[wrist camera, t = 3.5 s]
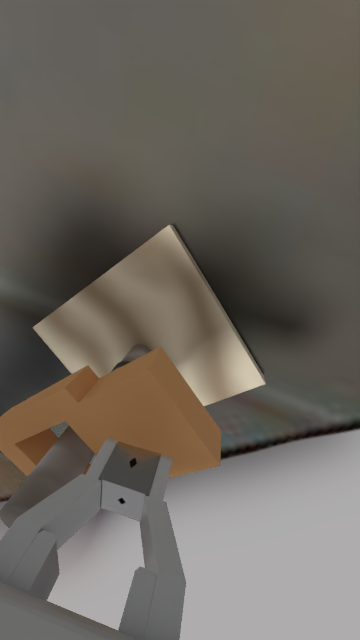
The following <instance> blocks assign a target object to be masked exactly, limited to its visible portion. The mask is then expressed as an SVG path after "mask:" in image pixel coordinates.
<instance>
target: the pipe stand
mask: <svg viewBox="0 0 360 640" xmlns="http://www.w3.org/2000/svg"><path fill="white" fill-rule="evenodd" d="M32 328H33V329H34V330H35V331H36V332H37V334H38V335H39V336H40V337H41V338H42V340H43V341H44V342H45V343H46V344H47V345H48V347H49V348H50V349H51V350H52V351H53V353H54V354H55V355H56V356H57V357H58V358H59V360H60V361H61V362H62V363H63V364H64V365H65V367H66V368H67V369H68V370H69V371H70V373H71V374H73V373H75V372H76V371H78V370H80V369H82V368H83V367H85V366H87V365H89V366H90V368H91V369H92V370H93V371H94V372H95V374H96V375H97V376H98V377H99V378H101V377H103V376H105V375H106V374H108V373H110V372H112V371H114V370H116V369H118V368H120V367H122V366H124V365H126V364H128V363H130V362H132V361H134V360H136V359H137V358H139V357H141V356H143V355H145V354H147V353H149V352H151V351H153V350H155V349H157V348H159V347H162V348H163V350H164V351H165V352H166V354H167V355H168V357H169V358H170V359H171V361H172V362H173V364H174V365H175V367H176V368H177V369H178V371H179V372H180V374H181V375H182V376H183V378H184V379H185V381H186V382H187V383H188V385H189V386H190V388H191V389H192V391H193V392H194V393H195V395H196V396H197V398H198V399H199V400H200V402H201V403H202V405H203V406H206V405H209V404H211V403H214V402H217V401H220V400H222V399H225V398H228V397H231V396H234V395H236V394H239V393H242V392H245V391H247V390H250V389H253V388H256V387H258V386H261V385H264V384H266V383H265V379H264V375H263V374H262V372H261V370H260V369H259V367H258V365H257V364H256V362H255V360H254V359H253V357H252V355H251V354H250V352H249V350H248V349H247V347H246V345H245V344H244V342H243V340H242V339H241V337H240V335H239V334H238V332H237V330H236V329H235V327H234V325H233V324H232V322H231V320H230V319H229V317H228V315H227V314H226V312H225V310H224V309H223V307H222V306H221V304H220V302H219V301H218V299H217V297H216V296H215V294H214V292H213V291H212V289H211V287H210V286H209V284H208V282H207V281H206V279H205V277H204V276H203V274H202V272H201V271H200V269H199V267H198V266H197V264H196V262H195V261H194V259H193V257H192V256H191V254H190V252H189V251H188V249H187V247H186V246H185V244H184V243H183V241H182V239H181V238H180V236H179V234H178V233H177V231H176V229H175V228H174V226H173V225H168V226H167V227H165V228H164V229H163V230H161V231H160V232H159V233H157V234H156V235H155V236H153V237H152V238H151V239H149V240H148V241H147V242H146V243H144V244H143V245H142V246H140V247H139V248H138V249H136V250H135V251H134V252H132V253H131V254H130V255H128V256H127V257H126V258H124V259H123V260H122V261H120V262H119V263H118V264H116V265H115V266H114V267H112V268H111V269H110V270H108V271H107V272H106V273H104V274H103V275H102V276H100V277H99V278H98V279H96V280H95V281H94V282H92V283H91V284H90V285H88V286H87V287H86V288H84V289H83V290H82V291H80V292H79V293H78V294H76V295H75V296H74V297H72V298H71V299H70V300H68V301H67V302H66V303H64V304H63V305H62V306H60V307H59V308H58V309H56V310H55V311H54V312H52V313H51V314H50V315H48V316H47V317H46V318H44V319H43V320H42V321H40V322H39V323H38V324H36V325H35V326H34V327H32ZM94 454H95V453H94V452H93V451H92V450H91V449H90V448H89V447H88V446H87V445H86V444H85V442H84V441H83V440H82V439H81V438H80V437H79V436H78V435H77V434H76V433H75V432H74V430H73V429H72V428H71V427H70V426H68V427H67V429H66V430H65V431H64V432H63V434H62V435H61V436H60V437H59V439H58V440H57V441H56V442H55V443H54V445H53V446H52V447H51V448H50V450H49V451H48V452H47V453H46V455H45V456H44V457H43V458H42V460H41V461H40V462H39V463H38V464H37V466H36V467H35V468H34V469H33V471H32V472H31V473H30V474H29V476H28V477H27V478H26V479H25V481H24V482H23V483H22V484H21V485H20V487H19V488H18V489H17V490H16V492H15V493H14V494H13V495H12V497H11V498H10V499H9V500H8V502H7V503H6V504H5V505H4V507H3V508H2V509H1V510H0V517H1V520H2V521H3V522H4V524H5V525H6V526H7V527H8V528H10V527H11V525H12V524H13V523H14V521H15V520H16V518H17V517H19V516H20V515H22V514H23V513H25V512H26V511H28V510H29V509H31V508H32V507H34V506H35V505H37V504H38V503H40V502H41V501H42V500H44V499H45V498H47V497H48V496H50V495H51V494H53V493H54V492H56V491H57V490H59V489H60V488H62V487H63V486H65V485H66V484H67V483H69V482H70V481H72V480H73V479H75V478H76V477H78V476H79V475H81V474H83V473H84V471H85V469H86V468H87V466H88V464H89V463H90V461H91V459H92V457H93V456H94Z"/></svg>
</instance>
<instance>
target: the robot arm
mask: <svg viewBox="0 0 360 640" xmlns="http://www.w3.org/2000/svg"><path fill="white" fill-rule="evenodd" d="M172 459H173V458H172V457H168V456H165V455H161V454H160V453H156V452H153V451H149V450H146V449H143V448H138V447H135V446H132V445H129V444H126V443H123V442H120V441H117V440H114V439H111V438H107V439H106V440H105V442H104V443H103V445H102V447H101V448H100V450H99V452H98V454H97V455H96V457H95V459H94V460H93V462H92V464H91V466H90V467H89V469H88V471H87V472H86V474H81V475H79V476H78V477H76V478H75V479H73V480H72V481H70V482H69V483H67V484H66V485H65V486H63V487H62V488H60V489H59V490H57V491H56V492H54V493H53V494H51V495H50V496H48V497H47V498H45V499H44V500H42V501H41V502H40V503H38V504H37V505H35V506H34V507H32V508H31V509H29V510H28V511H26V512H25V513H23V514H22V515H20V516H19V517H17V518H16V520H15V521H14V523H13V524H12V525H11V527H10V528H9V529H8V531H7V532H6V533H5V535H4V536H3V537H2V539H1V540H0V640H179V638H180V629H181V621H182V612H183V603H184V595H185V587H186V581H185V577H184V573H183V568H182V564H181V560H180V557H179V552H178V548H177V544H176V540H175V536H174V532H173V528H172V524H171V520H170V516H169V512H168V508H167V504H166V502H164V501H163V497H164V494H165V489H166V485H167V481H168V477H169V473H170V468H171V464H172ZM100 508H102V509H106V510H109V511H112V512H115V513H118V514H121V515H124V516H127V517H129V518H132V519H134V520H137V521H139V522H140V529H141V538H142V547H143V555H144V563H145V568H143V567H139V568H138V569H137V570H136V571H135V573H134V577H133V580H132V584H131V587H130V591H129V594H128V598H127V602H126V606H125V609H124V612H123V616H122V619H121V623H120V627H119V630H118V631H117V630H115V629H112V628H110V627H108V626H106V625H103V624H101V623H98V622H96V621H94V620H91V619H89V618H86V617H84V616H82V615H79V614H77V613H74V612H72V611H70V610H67V609H65V608H62V607H60V606H57V605H55V604H53V603H50V602H48V601H47V599H48V597H49V595H50V592H51V590H52V588H53V586H54V584H55V582H56V580H57V578H58V576H59V564H58V554H57V550H58V549H59V548H60V547H61V546H62V545H63V544H64V543H65V542H66V541H67V540H68V539H69V538H70V537H72V536H73V535H74V534H75V533H76V532H77V531H78V530H79V529H80V528H81V527H82V526H83V525H84V524H85V523H86V522H87V521H88V520H90V519H91V518H92V517H93V516H94V515H95V514H96V513H97V512H98V511H99V510H100Z"/></svg>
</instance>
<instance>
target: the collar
mask: <svg viewBox="0 0 360 640" xmlns="http://www.w3.org/2000/svg"><path fill="white" fill-rule="evenodd" d="M64 421H65V422H66V423H67V424H68V425H69V426H70V427H71V428H72V429H73V430H74V432H75V433H76V434H77V435H78V436H79V437H80V438H81V439H82V440H83V441H84V442H85V444H86V445H87V446H88V447H89V448H90V449H91V450H92V451H93V452H94V453H95V455H97V454H98V452H99V450H100V448H101V447H102V445H103V443H104V442H105V440H106V439H107V438H111V439H114V440H117V441H120V442H123V443H126V444H129V445H132V446H135V447H138V448H143V449H146V450H149V451H153V452H156V453H160V454H161V455H165V456H168V457H172V458H173V459H172V464H171V468H170V473H169V477H168V478H171V477H175V476H179V475H183V474H187V473H191V472H196V471H199V470H204V469H208V468H212V467H216V466H220V451H221V430H220V429H219V427H218V426H217V424H216V423H215V422H214V420H213V419H212V417H211V416H210V415H209V413H208V412H207V410H206V409H205V407H204V406H203V405H202V403H201V402H200V400H199V399H198V398H197V396H196V395H195V393H194V392H193V391H192V389H191V388H190V386H189V385H188V383H187V382H186V381H185V379H184V378H183V376H182V375H181V374H180V372H179V371H178V369H177V368H176V367H175V365H174V364H173V362H172V361H171V359H170V358H169V357H168V355H167V354H166V352H165V351H164V350H163V348H162V347H159V348H157V349H155V350H153V351H151V352H149V353H147V354H145V355H143V356H141V357H139V358H137V359H136V360H134V361H132V362H130V363H128V364H126V365H124V366H122V367H120V368H118V369H116V370H114V371H112V372H110V373H108V374H106V375H105V376H103V377H101V378H99V377H98V376H97V375H96V374H95V372H94V371H93V370H92V369H91V368H90V366H89V365H87V366H85V367H83V368H82V369H80V370H78V371H76V372H75V373H73V374H71V375H69V376H67V377H66V378H64V379H62V380H60V381H59V382H57V383H55V384H53V385H51V386H50V387H48V388H46V389H44V390H42V391H41V392H39V393H37V394H35V395H34V396H32V397H30V398H28V399H26V400H25V401H23V402H21V403H19V404H18V405H16V406H14V407H12V408H11V409H9V410H8V411H7V412H6V413H4V414H3V415H2V416H1V417H0V451H1V452H2V453H3V454H4V455H5V456H6V457H7V458H8V459H10V460H11V461H12V462H13V463H14V464H15V465H16V466H17V467H18V468H19V469H20V470H21V471H22V472H23V473H24V474H25V475H26V476H27V477H28V476H29V474H30V473H31V472H32V471H33V469H34V468H35V467H36V466H37V464H38V463H39V462H40V461H41V460H42V458H43V457H44V456H45V455H46V453H47V452H48V451H49V450H50V448H51V447H52V446H53V445H54V443H55V442H56V441H57V440H58V439H59V438H58V437H57V436H56V435H55V434H54V433H53V432H52V431H51V430H50V428H51V427H53V426H55V425H58V424H60V423H62V422H64ZM91 464H92V463H91ZM91 464H88V466H87V468H86V469H85V471H84V473H83V474H86V472H87V471H88V469H89V467H90V466H91Z"/></svg>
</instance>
